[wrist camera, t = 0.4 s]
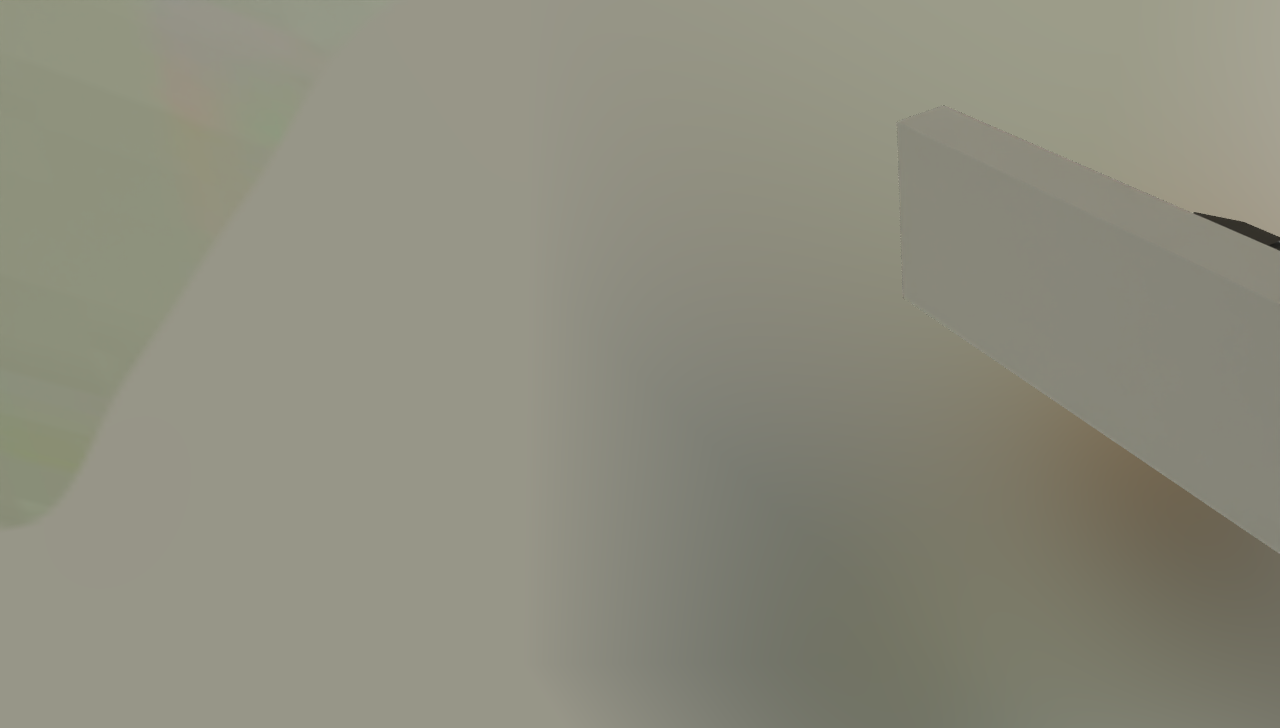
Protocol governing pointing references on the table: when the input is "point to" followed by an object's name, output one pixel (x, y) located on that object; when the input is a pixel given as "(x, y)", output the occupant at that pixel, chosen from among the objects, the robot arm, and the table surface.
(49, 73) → the table surface
